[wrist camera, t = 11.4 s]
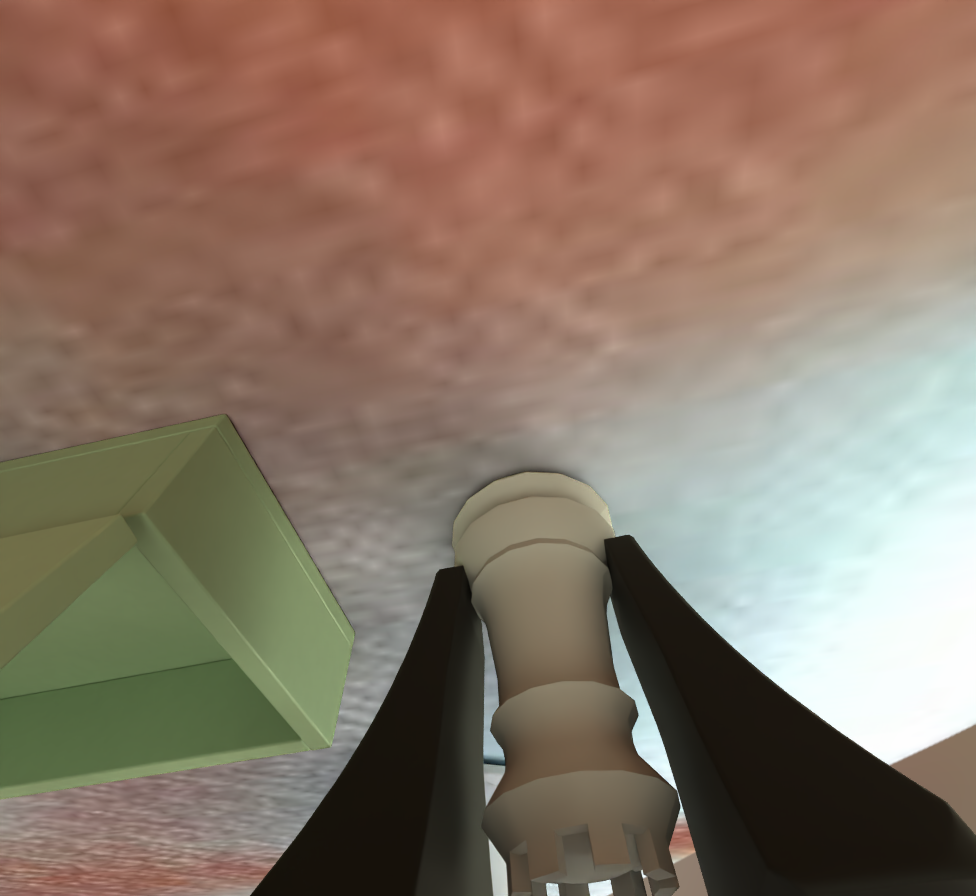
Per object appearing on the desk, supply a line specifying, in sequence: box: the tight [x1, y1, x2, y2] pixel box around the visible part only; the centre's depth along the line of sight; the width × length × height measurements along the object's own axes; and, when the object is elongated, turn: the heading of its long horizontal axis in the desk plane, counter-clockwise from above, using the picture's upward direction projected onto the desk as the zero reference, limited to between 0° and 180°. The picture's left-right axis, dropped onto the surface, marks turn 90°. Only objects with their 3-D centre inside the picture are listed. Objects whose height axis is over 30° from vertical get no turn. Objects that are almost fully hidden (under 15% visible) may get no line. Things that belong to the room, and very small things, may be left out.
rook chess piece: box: [452, 472, 680, 896], centre depth 10 cm, size 4×4×8 cm
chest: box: [0, 414, 355, 799], centre depth 13 cm, size 9×14×4 cm, turn 102°
